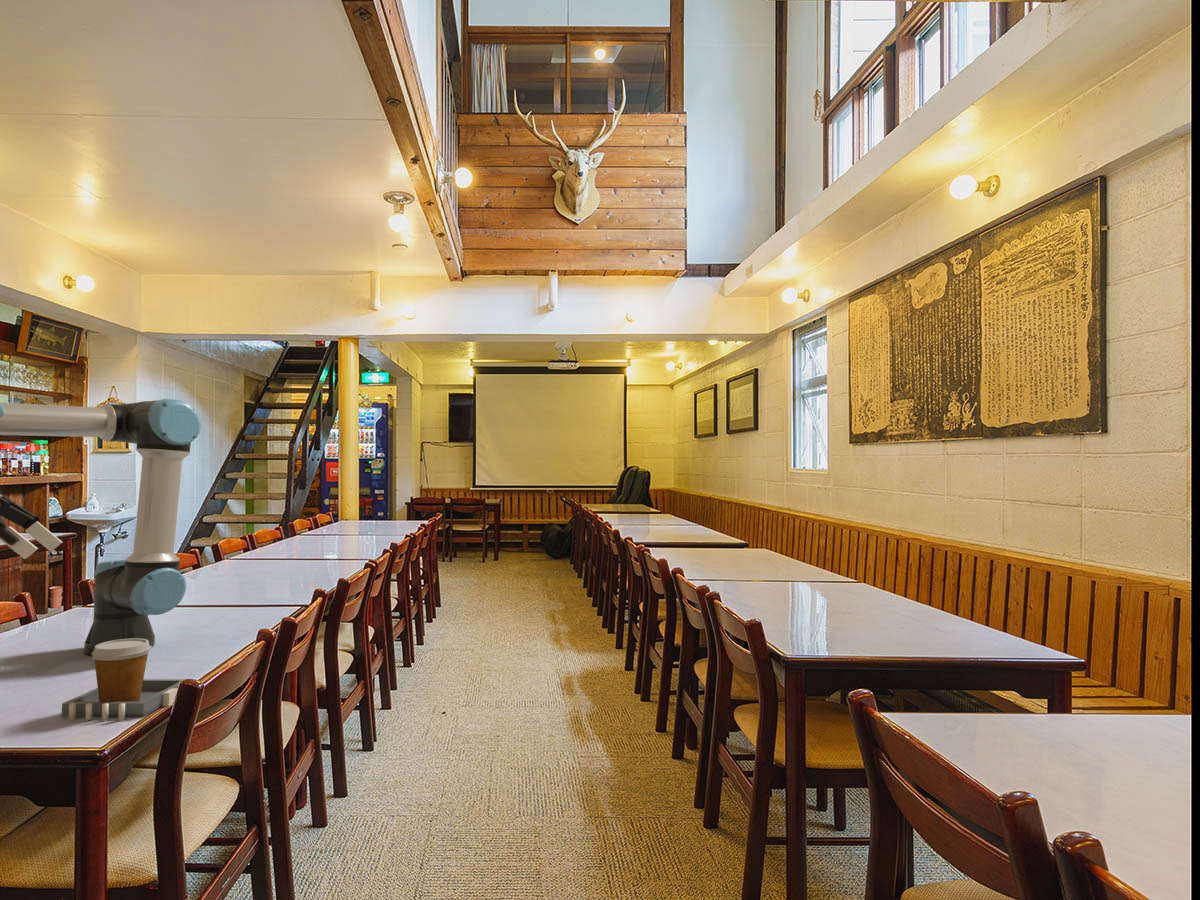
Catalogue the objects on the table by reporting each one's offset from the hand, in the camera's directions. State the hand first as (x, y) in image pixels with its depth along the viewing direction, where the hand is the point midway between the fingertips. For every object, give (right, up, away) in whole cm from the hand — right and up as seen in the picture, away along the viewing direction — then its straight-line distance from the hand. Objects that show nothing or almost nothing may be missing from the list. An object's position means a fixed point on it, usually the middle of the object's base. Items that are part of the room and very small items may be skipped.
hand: (44, 550), depth 142 cm
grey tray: (+22, -30, -7) cm, 38 cm away
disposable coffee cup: (+22, -29, -9) cm, 38 cm away
